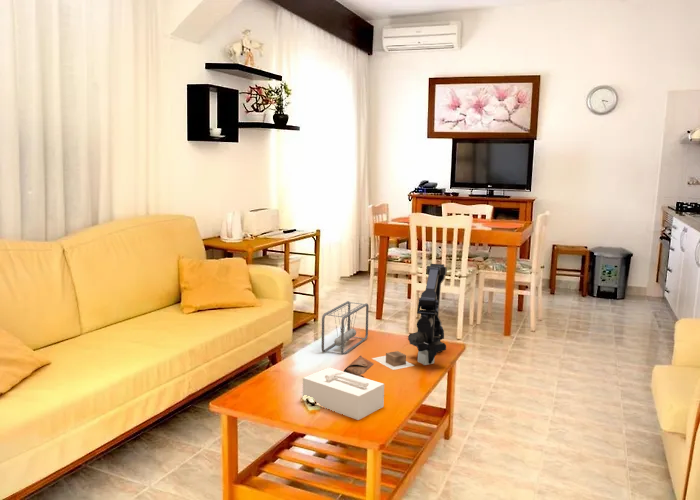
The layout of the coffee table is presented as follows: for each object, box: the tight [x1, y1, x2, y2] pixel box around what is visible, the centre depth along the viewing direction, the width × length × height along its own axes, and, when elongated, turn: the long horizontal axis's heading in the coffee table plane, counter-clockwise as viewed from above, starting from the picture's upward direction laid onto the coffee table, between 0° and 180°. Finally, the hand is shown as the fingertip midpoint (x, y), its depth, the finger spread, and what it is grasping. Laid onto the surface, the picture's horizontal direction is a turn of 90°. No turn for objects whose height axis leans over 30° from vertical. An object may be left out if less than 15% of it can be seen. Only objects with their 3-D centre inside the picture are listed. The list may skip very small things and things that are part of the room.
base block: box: [385, 350, 407, 367], centre depth 252 cm, size 6×6×4 cm
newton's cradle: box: [321, 300, 370, 355], centre depth 277 cm, size 30×10×18 cm, turn 157°
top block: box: [417, 350, 436, 366], centre depth 254 cm, size 5×5×5 cm
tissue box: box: [302, 367, 385, 421], centre depth 212 cm, size 14×25×11 cm, turn 52°
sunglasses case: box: [343, 355, 375, 378], centre depth 247 cm, size 18×7×7 cm
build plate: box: [371, 355, 415, 371], centre depth 254 cm, size 11×16×1 cm
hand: (425, 361), depth 255 cm, fingers closed on top block, 5 cm apart
